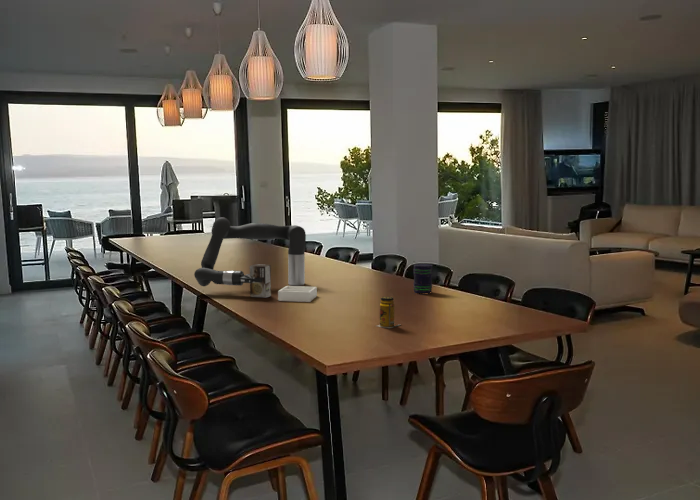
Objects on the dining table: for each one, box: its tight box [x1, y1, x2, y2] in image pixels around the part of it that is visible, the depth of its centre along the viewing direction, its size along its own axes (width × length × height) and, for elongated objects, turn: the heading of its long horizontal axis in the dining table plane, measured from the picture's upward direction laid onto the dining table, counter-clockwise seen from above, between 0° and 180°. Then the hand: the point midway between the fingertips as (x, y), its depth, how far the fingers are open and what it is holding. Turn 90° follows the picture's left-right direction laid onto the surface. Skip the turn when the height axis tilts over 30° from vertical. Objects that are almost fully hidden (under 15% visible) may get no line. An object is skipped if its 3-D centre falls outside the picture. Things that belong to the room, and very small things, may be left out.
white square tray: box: [277, 285, 318, 303], centre depth 330 cm, size 16×16×5 cm
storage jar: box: [412, 263, 433, 294], centre depth 347 cm, size 10×10×15 cm
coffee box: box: [249, 263, 272, 298], centre depth 334 cm, size 9×6×16 cm
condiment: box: [376, 296, 400, 329], centre depth 271 cm, size 7×8×12 cm
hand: (264, 278), depth 334 cm, fingers closed on coffee box, 7 cm apart
